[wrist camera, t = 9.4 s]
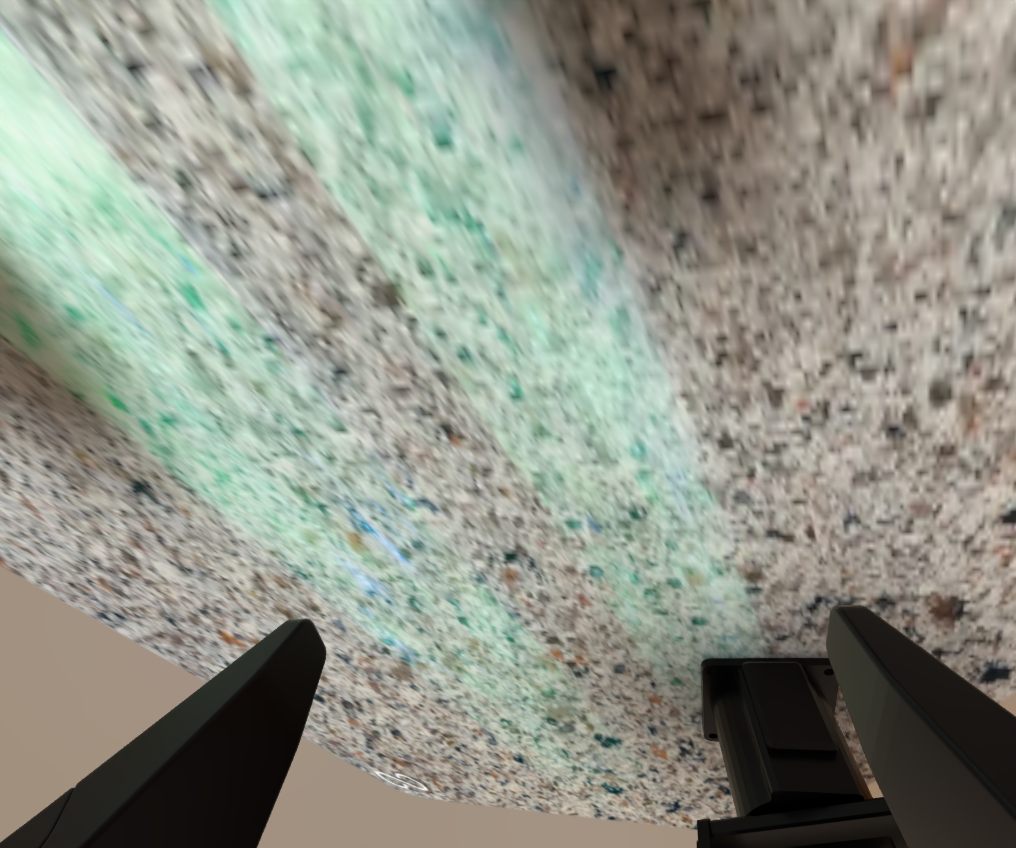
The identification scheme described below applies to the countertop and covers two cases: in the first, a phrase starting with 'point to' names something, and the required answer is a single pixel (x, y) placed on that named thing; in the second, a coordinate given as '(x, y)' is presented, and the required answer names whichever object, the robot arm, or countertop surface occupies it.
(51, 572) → the countertop surface
